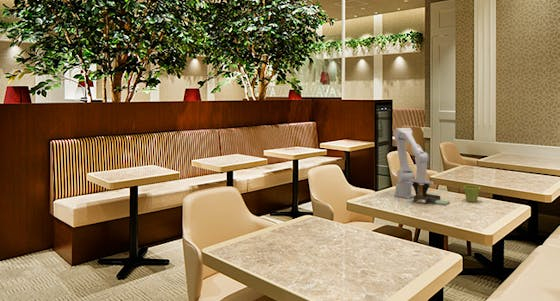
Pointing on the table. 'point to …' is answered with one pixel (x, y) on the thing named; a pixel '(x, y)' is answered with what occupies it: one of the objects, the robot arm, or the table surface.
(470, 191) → the plant pot
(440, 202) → the end pad
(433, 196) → the walled course
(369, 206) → the table surface
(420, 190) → the peg
